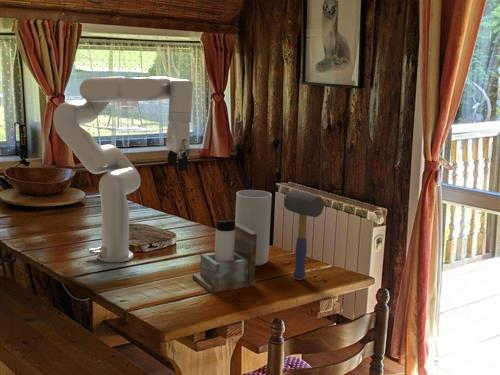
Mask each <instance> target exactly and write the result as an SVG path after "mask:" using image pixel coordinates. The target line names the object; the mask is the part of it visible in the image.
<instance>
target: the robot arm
mask: <svg viewBox="0 0 500 375" xmlns="http://www.w3.org/2000/svg"><path fill="white" fill-rule="evenodd" d="M193 90H194V84H193V81H192V80H190V79H184V78H174V77H170V76H169V77H168V76H161V75H160V76H149V77H148V76H147V77H125V76H104V77H103V76H102V77H101V76H100V77H99V76H97V77H96V76H94V77H88V78H86V79H84V80H83V81H82V82H81V84H80V86H79V94H80V96H81V97H82V99H78V100H68V101H65V102H62V103H60V104H58V106H57V107H56V108H55V110H54V112H53V119H52V120H53V127H54V129H55V132H56V133H57V135H58V136H59V137H60V139H62V141H63V142H64V143H65V144H66V145H67V146H68V147H69V149H70V151H72V152H73V154H74V155H75V156H76V158H77V159H78V160H79V161H80V163H81V164H82V165H83V166H84V168H85V169H86V170H87V171H89V173H91V174H94V175H99V174H103V173H104V174H103V175H102V176H101V177H100V180H99V183H98V191H99V195H100V203H101V244H98V245H99V246H97V247H95V248H93V247H92V248H88V249H87V252H88V255H92V254H93V256H97V259H98V260H99V261H102V262H105V263H124V262H128V261H131V260H132V259H133V258H134V253H133V252H132V251H131V250H130V206H129V202H128V200H127V198H128V197H127V195H129V194H132V193H133V192H135V191H137V190H138V189H139V187H140V186H141V181H142V180H141V175H140V174H139V172H138V170H137V168H136V167H135V166H134V164H133V163H132V162H131V161H130V160H129V158H127V156H126V155H125V154H124V153H123V151H121V149H119V148H118V147H117V146H116V145H113V144H107V143H106V144H102V145H100V144H99V143H98V142H97V140H95V139H94V137H93V136H92V135H91V133H89V131H87V130H85V129H84V128H82V127H81V125H84V124H89V123H92V122H94V121H95V120H96V119H97V118H98V117H99V116H100V115H101V114H102V112H104V110H105V109H106V108H107V107H108V105H109V104H110V103H118V102H119V103H122V102H123V103H126V102H145V101H146V102H148V101H150V102H151V101H158V100H160V101H161V100H168V99H169V100H168V118H167V119H168V120H167V121H168V123H167V128H166V141H165V146H166V149H167V160H166V163H167V165H168V166H177V171H179V172H182V171H185V172H186V171H188V166H189V155H190V150H191V147H190V145H191V144H190V141H191V139H190V137H191V136H190V135H191V134H190V133H191V132H190V130H191V129H190V123H192V110H193V95H194V94H193V92H194V91H193ZM177 152H178V153H177Z"/></svg>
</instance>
